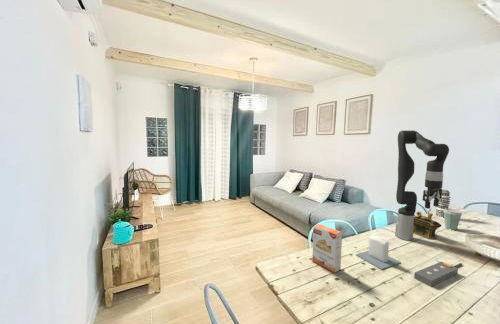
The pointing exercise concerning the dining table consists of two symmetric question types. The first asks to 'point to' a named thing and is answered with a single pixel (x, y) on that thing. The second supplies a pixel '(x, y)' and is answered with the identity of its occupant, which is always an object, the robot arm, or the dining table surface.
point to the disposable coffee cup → (451, 218)
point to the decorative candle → (443, 203)
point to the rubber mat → (377, 262)
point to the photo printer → (378, 248)
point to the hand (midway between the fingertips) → (431, 207)
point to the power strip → (436, 273)
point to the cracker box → (327, 247)
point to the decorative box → (425, 226)
